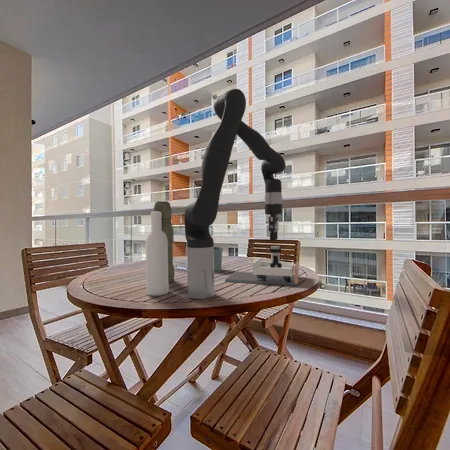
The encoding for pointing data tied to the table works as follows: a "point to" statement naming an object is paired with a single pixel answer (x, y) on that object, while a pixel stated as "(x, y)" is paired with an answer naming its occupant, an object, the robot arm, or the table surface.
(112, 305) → the table surface
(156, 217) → the bottle
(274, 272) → the cart
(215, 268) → the drinking glass
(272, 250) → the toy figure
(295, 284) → the grey piece
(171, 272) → the thermos
